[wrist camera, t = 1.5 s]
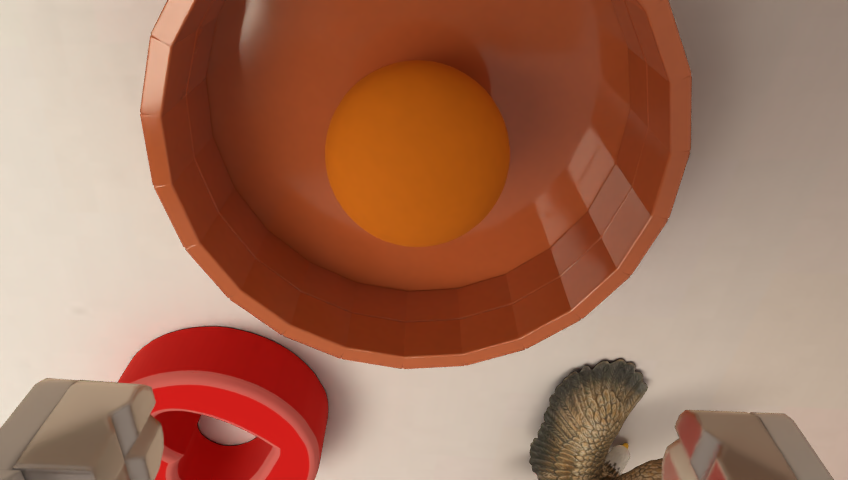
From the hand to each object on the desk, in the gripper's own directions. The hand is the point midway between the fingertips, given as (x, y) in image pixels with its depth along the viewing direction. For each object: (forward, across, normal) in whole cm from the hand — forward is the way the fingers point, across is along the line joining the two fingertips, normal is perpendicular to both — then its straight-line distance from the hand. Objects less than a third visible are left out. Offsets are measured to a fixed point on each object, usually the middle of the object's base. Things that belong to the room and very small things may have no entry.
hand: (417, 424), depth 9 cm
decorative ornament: (+14, +9, +15) cm, 22 cm away
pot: (+14, 0, 0) cm, 14 cm away
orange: (+14, 0, 0) cm, 14 cm away
